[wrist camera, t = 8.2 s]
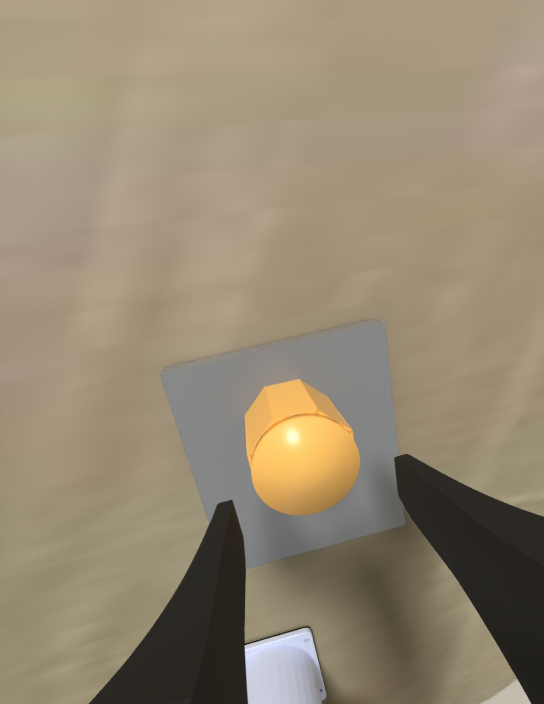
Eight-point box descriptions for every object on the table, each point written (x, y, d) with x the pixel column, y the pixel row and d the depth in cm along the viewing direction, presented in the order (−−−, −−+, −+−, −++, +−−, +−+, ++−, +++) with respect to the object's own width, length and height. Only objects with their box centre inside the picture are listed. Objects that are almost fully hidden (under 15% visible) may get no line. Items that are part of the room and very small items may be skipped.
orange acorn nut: (334, 447, 20) (365, 501, 15) (256, 465, 20) (263, 527, 15) (323, 373, 19) (353, 407, 14) (238, 392, 18) (240, 433, 14)
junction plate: (395, 509, 24) (428, 558, 20) (226, 555, 23) (224, 616, 19) (373, 319, 20) (410, 330, 16) (165, 367, 19) (146, 392, 15)
